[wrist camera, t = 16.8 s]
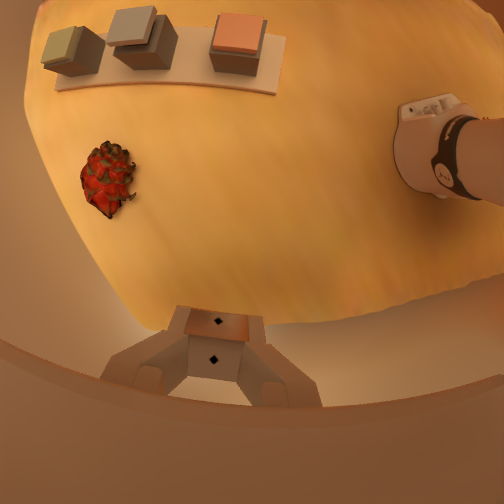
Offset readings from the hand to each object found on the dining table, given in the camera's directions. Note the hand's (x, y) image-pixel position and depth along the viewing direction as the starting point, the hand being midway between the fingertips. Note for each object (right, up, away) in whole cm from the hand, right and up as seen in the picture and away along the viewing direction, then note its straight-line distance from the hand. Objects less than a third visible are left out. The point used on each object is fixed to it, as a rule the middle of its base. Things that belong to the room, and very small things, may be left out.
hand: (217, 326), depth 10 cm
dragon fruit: (-20, +14, +29) cm, 38 cm away
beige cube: (-13, +30, +15) cm, 36 cm away
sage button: (-26, +33, +16) cm, 44 cm away
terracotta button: (0, +29, +18) cm, 34 cm away
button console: (-13, +33, +23) cm, 42 cm away
